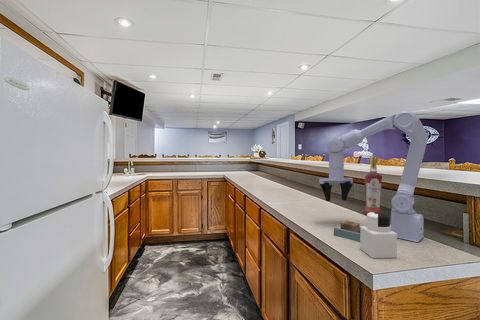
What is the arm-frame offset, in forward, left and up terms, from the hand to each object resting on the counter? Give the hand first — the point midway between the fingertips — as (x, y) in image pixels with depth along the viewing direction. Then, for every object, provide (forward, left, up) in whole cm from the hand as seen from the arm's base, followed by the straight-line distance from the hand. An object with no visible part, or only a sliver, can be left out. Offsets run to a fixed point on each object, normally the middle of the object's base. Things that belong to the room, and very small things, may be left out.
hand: (336, 200), depth 103 cm
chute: (-11, +9, -10) cm, 17 cm away
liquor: (-4, -28, -10) cm, 30 cm away
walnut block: (-10, +9, -10) cm, 17 cm away
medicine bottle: (-23, +19, -10) cm, 31 cm away
